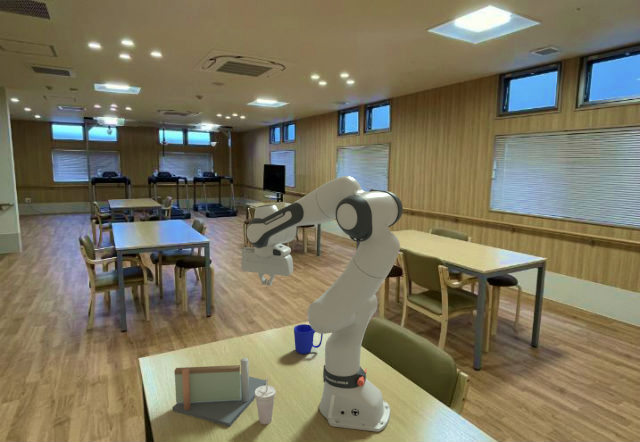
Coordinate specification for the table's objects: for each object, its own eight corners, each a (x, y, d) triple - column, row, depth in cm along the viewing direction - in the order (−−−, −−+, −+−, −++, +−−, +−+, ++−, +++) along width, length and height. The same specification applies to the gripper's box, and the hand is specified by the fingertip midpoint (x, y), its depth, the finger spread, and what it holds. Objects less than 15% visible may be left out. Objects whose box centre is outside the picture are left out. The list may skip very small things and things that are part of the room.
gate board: (267, 383, 136) (267, 343, 134) (229, 426, 114) (228, 379, 111) (217, 372, 143) (216, 333, 141) (172, 410, 121) (170, 365, 119)
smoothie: (272, 428, 113) (271, 385, 111) (251, 425, 114) (250, 382, 112) (278, 415, 119) (278, 373, 117) (259, 412, 121) (258, 370, 118)
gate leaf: (240, 396, 125) (239, 365, 124) (240, 399, 124) (239, 368, 122) (177, 399, 123) (175, 367, 121) (176, 403, 121) (174, 370, 120)
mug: (322, 356, 156) (322, 333, 154) (293, 355, 156) (293, 332, 154) (322, 346, 164) (323, 324, 162) (294, 346, 164) (294, 323, 163)
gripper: (237, 247, 141) (238, 284, 143) (287, 252, 134) (287, 290, 136) (246, 244, 147) (247, 279, 149) (294, 248, 140) (295, 285, 142)
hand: (267, 284), depth 143 cm, fingers closed
